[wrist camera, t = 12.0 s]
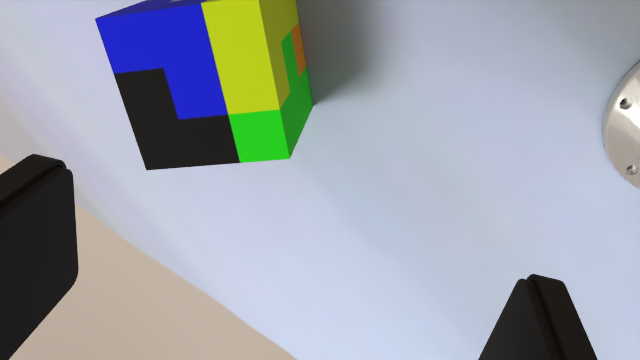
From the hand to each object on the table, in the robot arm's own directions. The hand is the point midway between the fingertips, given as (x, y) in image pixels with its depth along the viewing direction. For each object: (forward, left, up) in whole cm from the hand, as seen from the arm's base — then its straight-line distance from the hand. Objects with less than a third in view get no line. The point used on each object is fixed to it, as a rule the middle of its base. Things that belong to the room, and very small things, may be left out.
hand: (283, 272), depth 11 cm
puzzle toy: (+9, +5, -31) cm, 32 cm away
